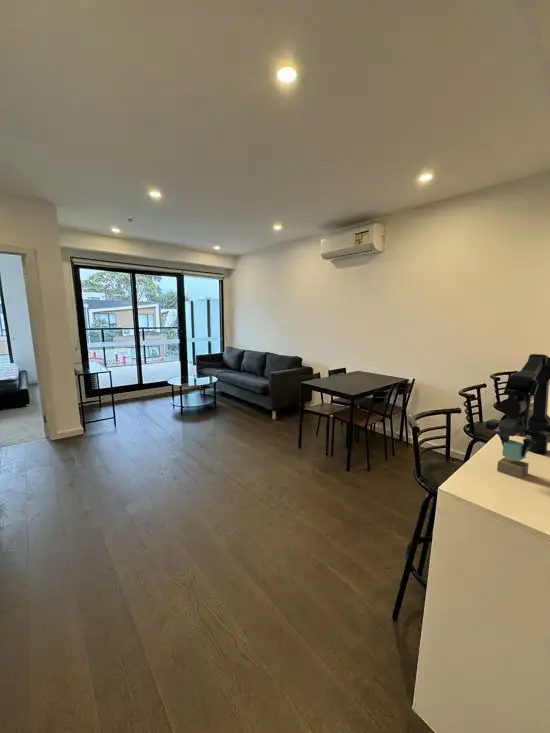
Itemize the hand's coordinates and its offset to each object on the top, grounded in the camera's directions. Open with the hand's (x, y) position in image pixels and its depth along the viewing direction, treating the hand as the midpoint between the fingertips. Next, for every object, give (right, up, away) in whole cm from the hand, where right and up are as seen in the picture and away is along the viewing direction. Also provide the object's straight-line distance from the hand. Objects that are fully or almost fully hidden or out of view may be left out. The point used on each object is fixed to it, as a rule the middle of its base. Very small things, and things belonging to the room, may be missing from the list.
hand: (514, 454), depth 113 cm
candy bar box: (+37, -2, +41) cm, 55 cm away
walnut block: (0, -7, +1) cm, 7 cm away
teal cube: (0, -1, 0) cm, 1 cm away
